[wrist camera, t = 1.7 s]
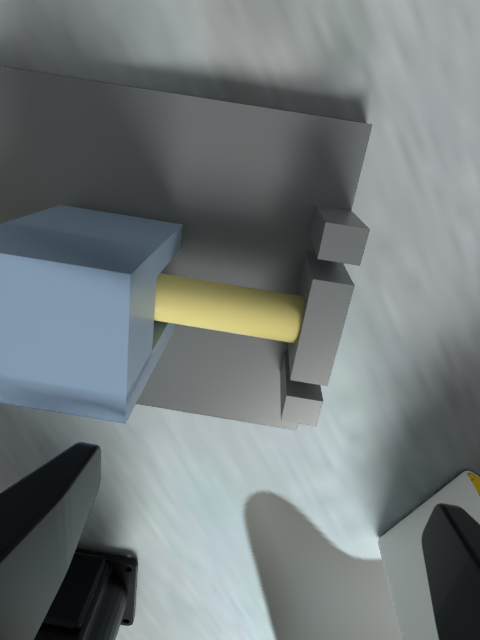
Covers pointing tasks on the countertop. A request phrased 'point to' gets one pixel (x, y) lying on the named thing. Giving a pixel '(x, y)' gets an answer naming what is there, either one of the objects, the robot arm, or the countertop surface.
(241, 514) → the countertop surface
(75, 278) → the sleeve
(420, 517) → the medicine bottle
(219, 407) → the sliding rail with carriage
